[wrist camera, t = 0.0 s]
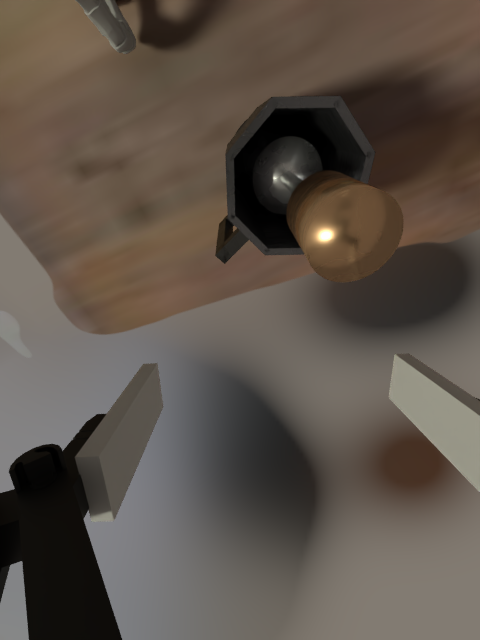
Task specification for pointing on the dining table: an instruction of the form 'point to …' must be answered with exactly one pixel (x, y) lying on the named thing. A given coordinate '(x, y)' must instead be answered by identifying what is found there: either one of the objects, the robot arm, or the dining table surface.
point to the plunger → (327, 210)
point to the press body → (258, 131)
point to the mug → (110, 23)
